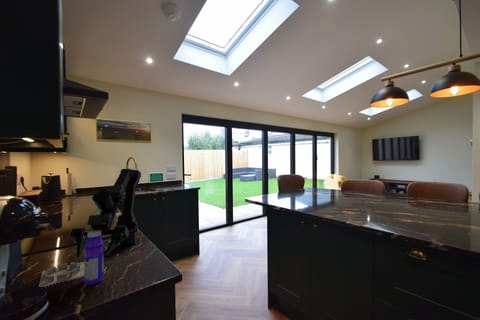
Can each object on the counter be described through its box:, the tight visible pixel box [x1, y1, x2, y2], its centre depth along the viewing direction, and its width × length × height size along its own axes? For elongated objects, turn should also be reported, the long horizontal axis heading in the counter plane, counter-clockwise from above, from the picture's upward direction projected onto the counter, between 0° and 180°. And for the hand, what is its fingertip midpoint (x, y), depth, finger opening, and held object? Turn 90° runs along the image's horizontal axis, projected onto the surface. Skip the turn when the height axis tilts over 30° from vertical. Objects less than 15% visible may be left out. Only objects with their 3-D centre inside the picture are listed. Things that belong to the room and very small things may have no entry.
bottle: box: [83, 230, 105, 286], centre depth 75 cm, size 7×6×17 cm
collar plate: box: [38, 261, 85, 288], centre depth 80 cm, size 16×13×3 cm
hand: (92, 256), depth 73 cm, fingers open, 9 cm apart
